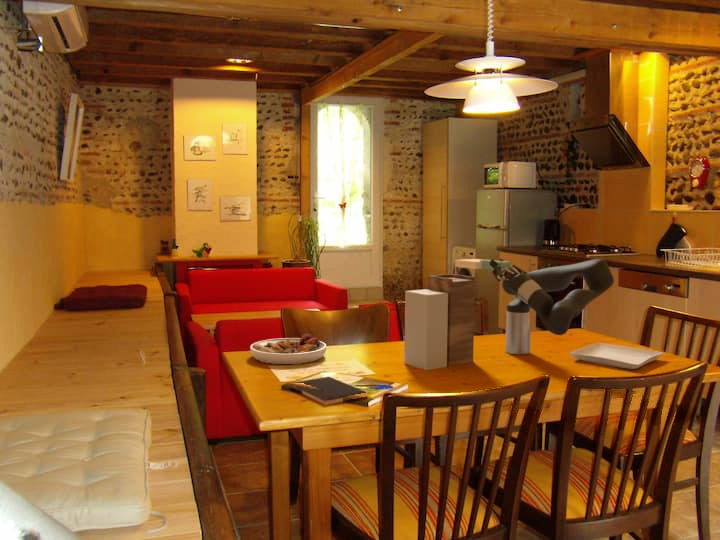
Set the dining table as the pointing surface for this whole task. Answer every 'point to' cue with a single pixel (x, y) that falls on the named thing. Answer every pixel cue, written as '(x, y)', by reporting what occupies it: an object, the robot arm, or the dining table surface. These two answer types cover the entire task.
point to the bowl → (288, 350)
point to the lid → (480, 264)
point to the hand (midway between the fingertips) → (495, 261)
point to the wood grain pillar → (457, 315)
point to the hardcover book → (328, 390)
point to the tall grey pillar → (426, 329)
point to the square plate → (616, 355)
